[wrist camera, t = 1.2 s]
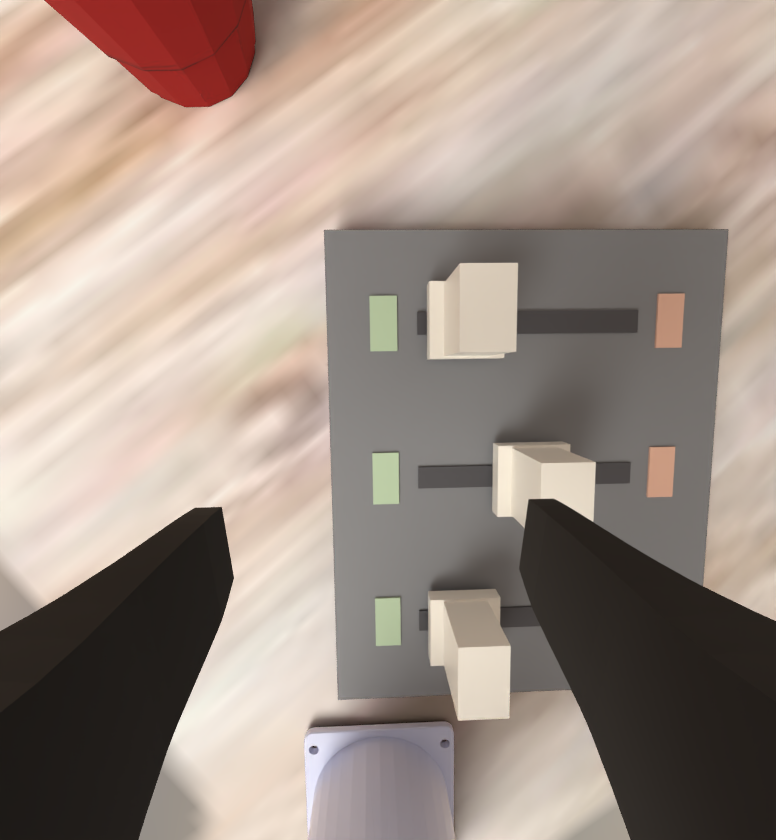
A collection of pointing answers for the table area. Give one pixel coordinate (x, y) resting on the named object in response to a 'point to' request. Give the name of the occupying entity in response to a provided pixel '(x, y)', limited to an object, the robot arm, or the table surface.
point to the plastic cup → (172, 43)
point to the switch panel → (509, 425)
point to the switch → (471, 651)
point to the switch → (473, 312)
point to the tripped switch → (540, 478)
